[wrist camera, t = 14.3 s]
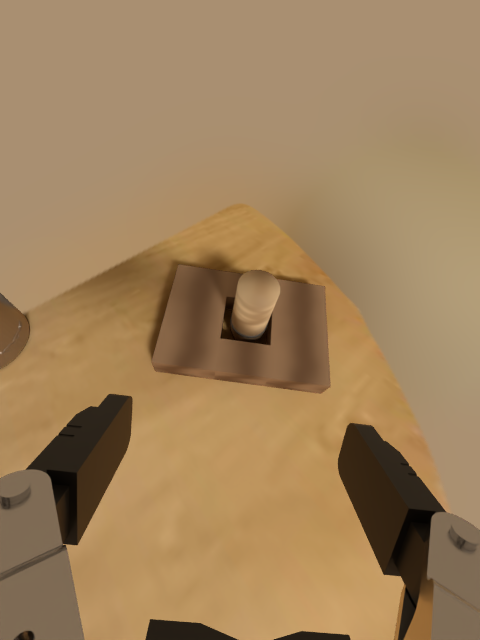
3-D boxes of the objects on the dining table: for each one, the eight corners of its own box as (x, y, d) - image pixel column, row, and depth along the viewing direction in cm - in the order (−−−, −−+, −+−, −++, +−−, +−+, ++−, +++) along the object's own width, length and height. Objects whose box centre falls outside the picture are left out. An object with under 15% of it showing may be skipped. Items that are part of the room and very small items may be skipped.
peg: (226, 345, 36) (234, 302, 28) (230, 314, 39) (238, 266, 30) (262, 350, 37) (280, 309, 28) (263, 319, 39) (281, 272, 30)
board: (155, 371, 34) (151, 362, 31) (180, 278, 41) (178, 264, 38) (321, 393, 35) (330, 386, 32) (317, 298, 42) (324, 286, 39)
